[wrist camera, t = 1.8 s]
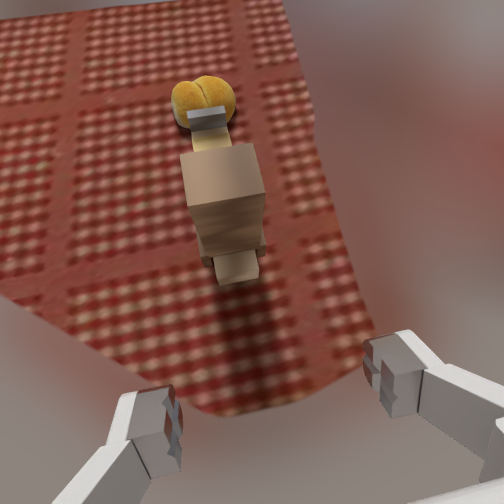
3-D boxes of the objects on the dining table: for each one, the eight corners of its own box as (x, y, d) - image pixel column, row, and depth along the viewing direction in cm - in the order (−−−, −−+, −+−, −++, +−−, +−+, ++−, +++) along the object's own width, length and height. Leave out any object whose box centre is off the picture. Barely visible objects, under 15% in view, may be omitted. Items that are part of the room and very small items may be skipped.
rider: (205, 267, 31) (178, 208, 19) (199, 232, 32) (170, 156, 20) (264, 255, 31) (274, 190, 20) (256, 221, 33) (261, 141, 21)
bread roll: (243, 122, 43) (243, 99, 40) (182, 139, 42) (176, 117, 39) (225, 81, 46) (223, 56, 42) (167, 96, 45) (160, 72, 41)
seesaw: (214, 295, 35) (202, 274, 26) (191, 164, 41) (177, 112, 32) (265, 285, 35) (271, 260, 27) (236, 157, 41) (233, 104, 33)
